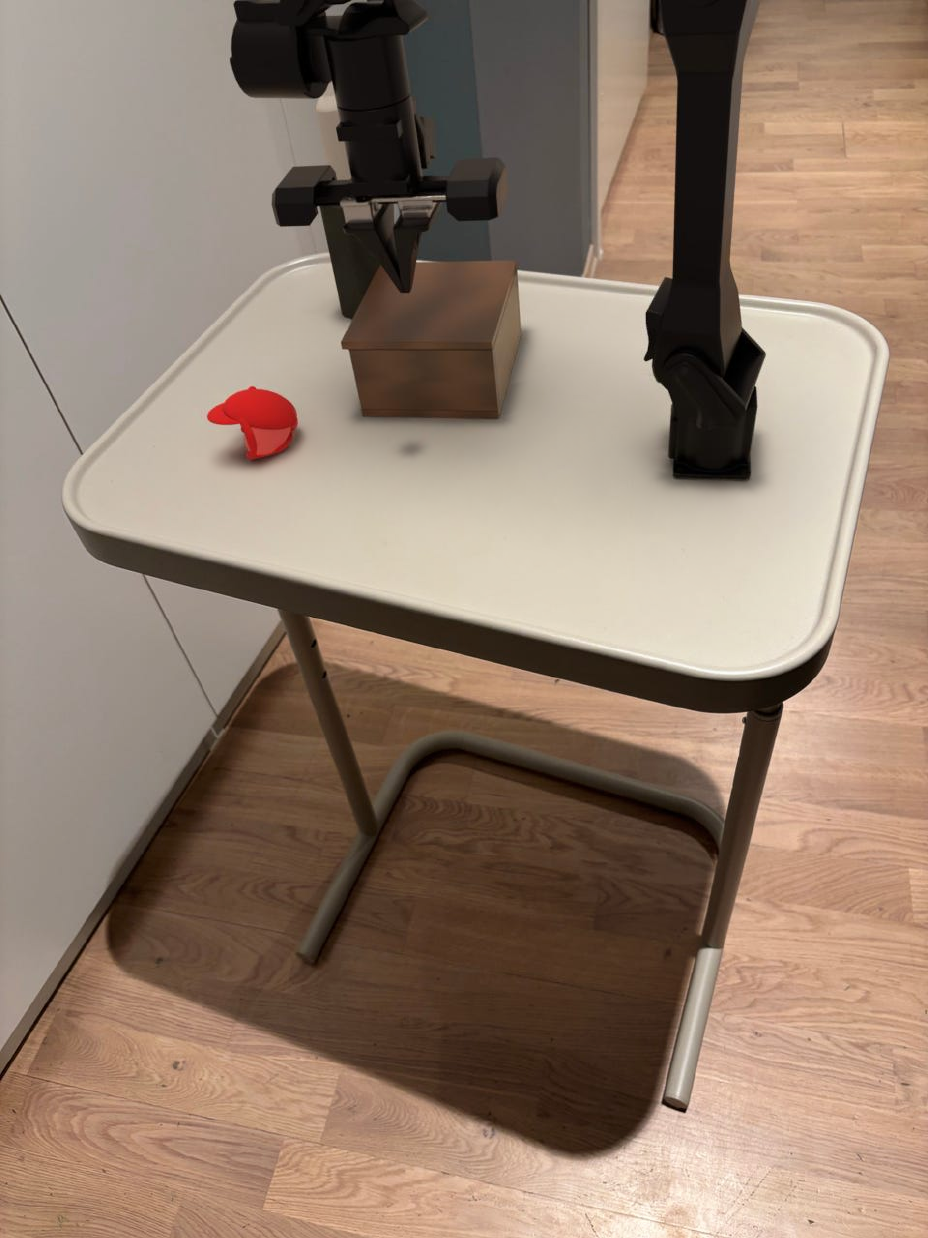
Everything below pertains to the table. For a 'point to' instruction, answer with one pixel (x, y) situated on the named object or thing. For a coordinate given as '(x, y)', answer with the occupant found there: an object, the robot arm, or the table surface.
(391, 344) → the lid
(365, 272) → the candle
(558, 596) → the table surface
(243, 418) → the cap
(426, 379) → the chest
